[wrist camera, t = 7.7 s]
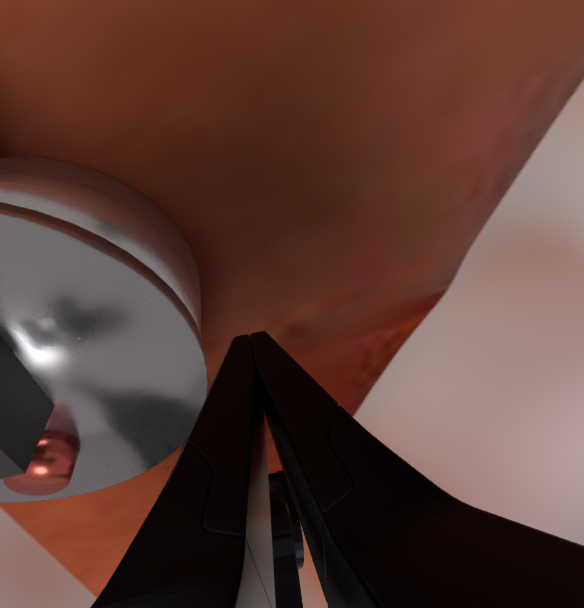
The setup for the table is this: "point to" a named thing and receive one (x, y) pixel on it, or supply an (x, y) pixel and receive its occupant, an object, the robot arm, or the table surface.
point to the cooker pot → (105, 216)
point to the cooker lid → (87, 361)
